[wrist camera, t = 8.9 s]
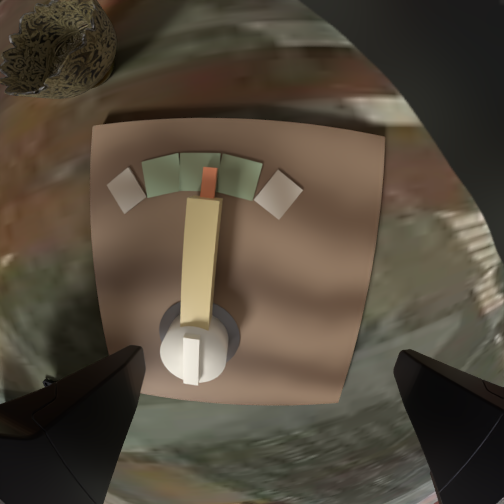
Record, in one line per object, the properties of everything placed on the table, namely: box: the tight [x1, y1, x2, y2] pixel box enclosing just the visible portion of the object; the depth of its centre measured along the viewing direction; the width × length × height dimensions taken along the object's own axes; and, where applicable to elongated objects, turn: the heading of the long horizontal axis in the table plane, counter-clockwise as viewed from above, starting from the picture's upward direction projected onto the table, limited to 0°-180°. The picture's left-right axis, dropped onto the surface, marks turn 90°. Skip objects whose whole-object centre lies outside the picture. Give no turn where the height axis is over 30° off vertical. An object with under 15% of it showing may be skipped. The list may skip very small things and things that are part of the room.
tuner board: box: [90, 118, 385, 405], centre depth 20 cm, size 22×20×1 cm
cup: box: [0, 0, 117, 99], centre depth 12 cm, size 8×7×8 cm
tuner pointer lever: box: [160, 167, 229, 386], centre depth 17 cm, size 14×4×3 cm, turn 173°
